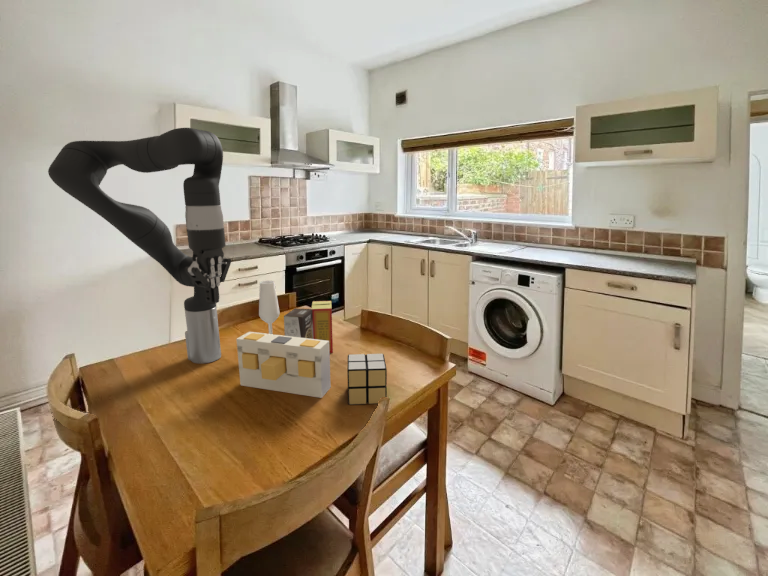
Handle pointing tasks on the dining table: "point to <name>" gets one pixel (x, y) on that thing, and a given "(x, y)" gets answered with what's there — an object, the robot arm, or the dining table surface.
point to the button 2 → (273, 368)
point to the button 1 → (250, 361)
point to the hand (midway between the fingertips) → (213, 302)
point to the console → (293, 353)
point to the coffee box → (299, 323)
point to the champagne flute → (268, 303)
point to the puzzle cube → (366, 378)
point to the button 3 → (306, 368)
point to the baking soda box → (322, 321)
